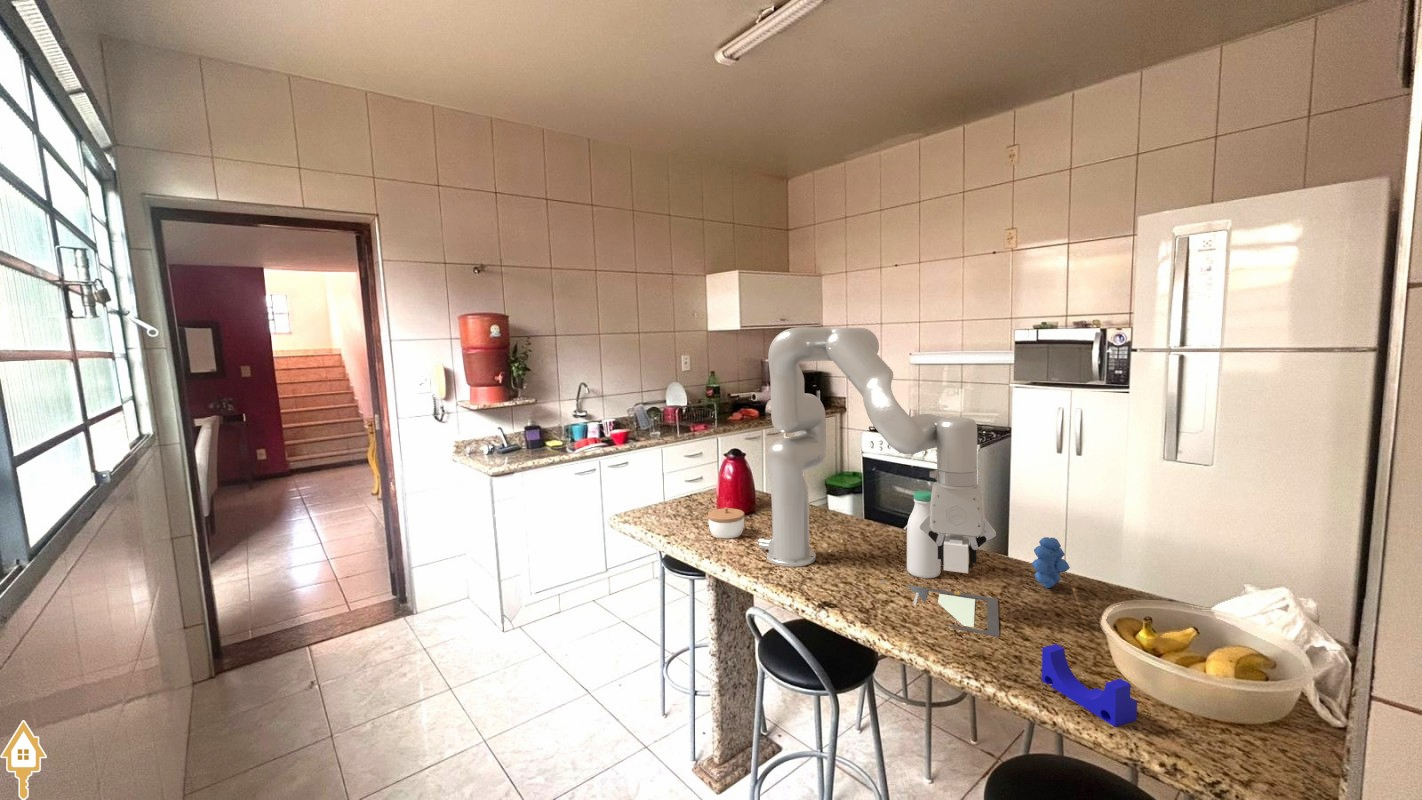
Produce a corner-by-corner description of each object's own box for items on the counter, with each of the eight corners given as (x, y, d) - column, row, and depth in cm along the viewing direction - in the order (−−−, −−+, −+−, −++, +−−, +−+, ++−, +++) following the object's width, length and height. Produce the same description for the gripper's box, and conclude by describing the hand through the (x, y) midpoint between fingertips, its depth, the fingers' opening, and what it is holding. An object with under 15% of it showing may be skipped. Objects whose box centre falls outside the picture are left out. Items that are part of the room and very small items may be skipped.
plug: (943, 570, 115) (943, 540, 114) (945, 558, 121) (945, 530, 120) (968, 573, 112) (968, 543, 112) (969, 561, 119) (969, 532, 118)
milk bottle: (943, 579, 133) (944, 497, 131) (909, 578, 134) (909, 496, 132) (937, 567, 140) (937, 488, 138) (904, 565, 142) (904, 488, 140)
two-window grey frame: (831, 607, 121) (831, 605, 121) (849, 577, 136) (849, 575, 136) (999, 637, 107) (999, 634, 107) (997, 599, 122) (997, 597, 122)
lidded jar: (744, 545, 160) (743, 513, 159) (707, 545, 161) (706, 513, 160) (745, 532, 171) (744, 502, 170) (710, 533, 172) (709, 503, 171)
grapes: (1057, 601, 120) (1058, 547, 119) (1024, 591, 126) (1025, 539, 124) (1080, 586, 127) (1081, 534, 126) (1048, 577, 132) (1049, 527, 131)
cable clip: (1136, 720, 83) (1137, 681, 82) (1114, 728, 81) (1116, 688, 81) (1062, 676, 94) (1062, 642, 94) (1041, 682, 93) (1042, 647, 92)
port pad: (934, 621, 113) (934, 620, 113) (939, 594, 125) (939, 593, 125) (973, 628, 110) (973, 627, 110) (975, 600, 122) (975, 599, 122)
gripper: (910, 479, 115) (911, 565, 117) (1003, 485, 108) (1003, 577, 110) (915, 471, 122) (915, 553, 124) (1003, 476, 115) (1002, 563, 116)
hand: (957, 563), depth 117 cm, fingers closed on plug, 4 cm apart
